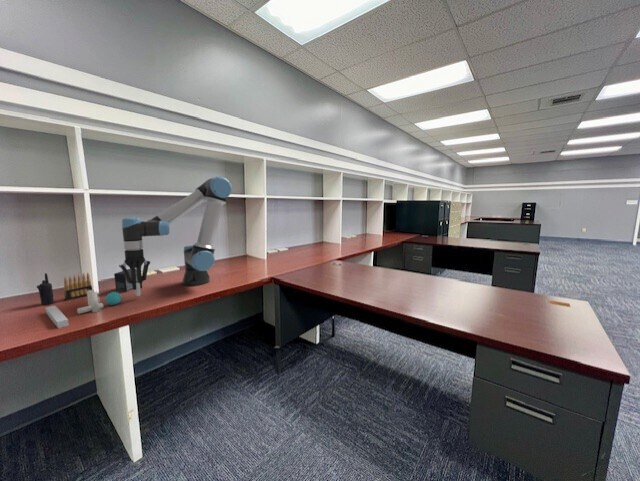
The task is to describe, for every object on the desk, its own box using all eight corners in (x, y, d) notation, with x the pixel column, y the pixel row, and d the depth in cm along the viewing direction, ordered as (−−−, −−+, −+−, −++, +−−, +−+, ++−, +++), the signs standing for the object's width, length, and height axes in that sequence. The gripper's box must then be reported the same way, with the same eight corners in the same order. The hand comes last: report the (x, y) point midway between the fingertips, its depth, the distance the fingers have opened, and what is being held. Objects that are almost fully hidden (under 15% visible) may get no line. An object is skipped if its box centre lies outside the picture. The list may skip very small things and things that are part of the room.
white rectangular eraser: (55, 310, 117) (55, 305, 116) (68, 325, 102) (67, 319, 102) (46, 313, 114) (45, 307, 114) (58, 328, 100) (57, 322, 100)
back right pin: (94, 307, 121) (92, 289, 120) (96, 308, 120) (94, 290, 119) (88, 308, 119) (86, 290, 118) (89, 310, 118) (87, 291, 117)
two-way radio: (56, 303, 126) (51, 272, 124) (44, 306, 122) (39, 275, 120) (47, 301, 127) (43, 271, 125) (36, 305, 123) (31, 274, 121)
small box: (129, 286, 153) (128, 268, 152) (140, 286, 153) (139, 268, 152) (115, 291, 143) (113, 273, 141) (126, 292, 142) (125, 273, 141)
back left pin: (98, 309, 118) (96, 291, 117) (99, 310, 117) (97, 292, 116) (91, 311, 116) (89, 292, 115) (92, 312, 115) (90, 294, 114)
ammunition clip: (66, 300, 129) (63, 277, 127) (65, 300, 130) (62, 276, 128) (93, 294, 138) (90, 272, 137) (91, 293, 139) (89, 272, 138)
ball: (100, 300, 123) (113, 305, 127) (104, 302, 119) (117, 307, 123) (109, 289, 125) (122, 294, 129) (113, 290, 122) (126, 296, 125)
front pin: (101, 302, 121) (76, 307, 114) (103, 303, 119) (78, 309, 113) (102, 307, 121) (77, 313, 114) (103, 308, 120) (78, 314, 113)
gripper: (145, 246, 136) (149, 290, 139) (115, 250, 126) (119, 297, 129) (151, 248, 132) (155, 293, 135) (120, 251, 121) (125, 300, 124)
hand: (138, 295), depth 132 cm, fingers closed
